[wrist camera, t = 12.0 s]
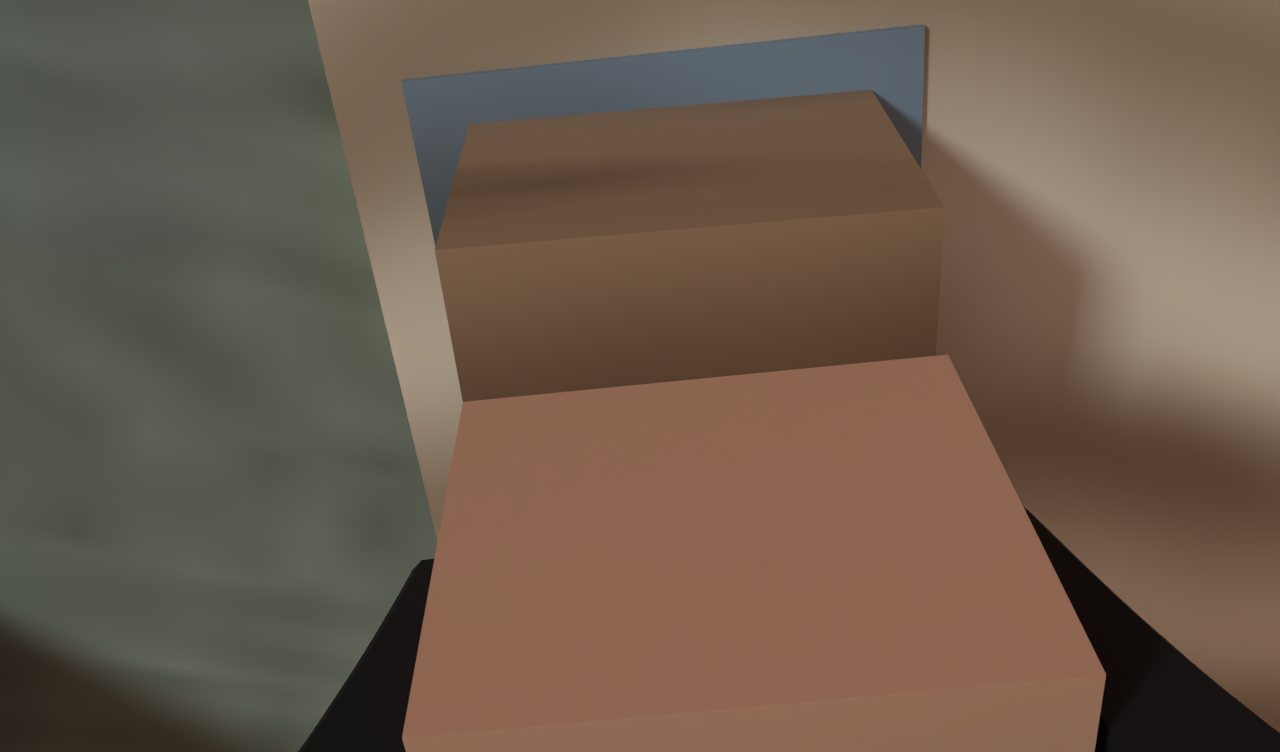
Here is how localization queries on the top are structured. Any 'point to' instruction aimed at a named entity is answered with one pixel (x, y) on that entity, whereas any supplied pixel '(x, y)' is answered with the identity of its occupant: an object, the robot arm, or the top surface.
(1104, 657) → the robot arm
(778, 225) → the walnut block
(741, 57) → the beige flat square
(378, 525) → the top surface
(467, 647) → the terracotta block
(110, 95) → the top surface
